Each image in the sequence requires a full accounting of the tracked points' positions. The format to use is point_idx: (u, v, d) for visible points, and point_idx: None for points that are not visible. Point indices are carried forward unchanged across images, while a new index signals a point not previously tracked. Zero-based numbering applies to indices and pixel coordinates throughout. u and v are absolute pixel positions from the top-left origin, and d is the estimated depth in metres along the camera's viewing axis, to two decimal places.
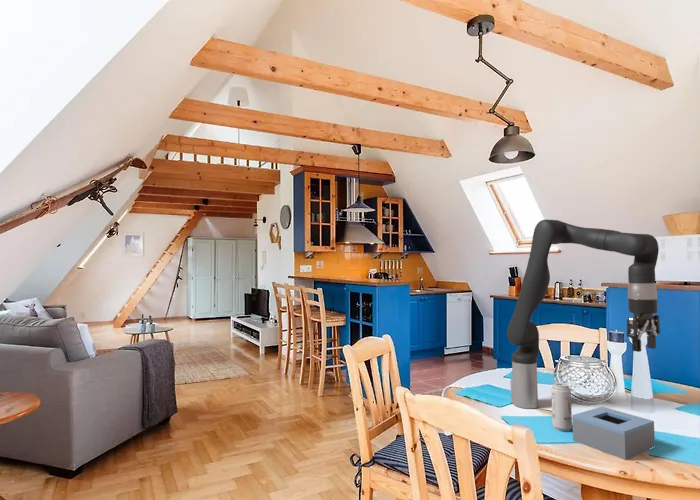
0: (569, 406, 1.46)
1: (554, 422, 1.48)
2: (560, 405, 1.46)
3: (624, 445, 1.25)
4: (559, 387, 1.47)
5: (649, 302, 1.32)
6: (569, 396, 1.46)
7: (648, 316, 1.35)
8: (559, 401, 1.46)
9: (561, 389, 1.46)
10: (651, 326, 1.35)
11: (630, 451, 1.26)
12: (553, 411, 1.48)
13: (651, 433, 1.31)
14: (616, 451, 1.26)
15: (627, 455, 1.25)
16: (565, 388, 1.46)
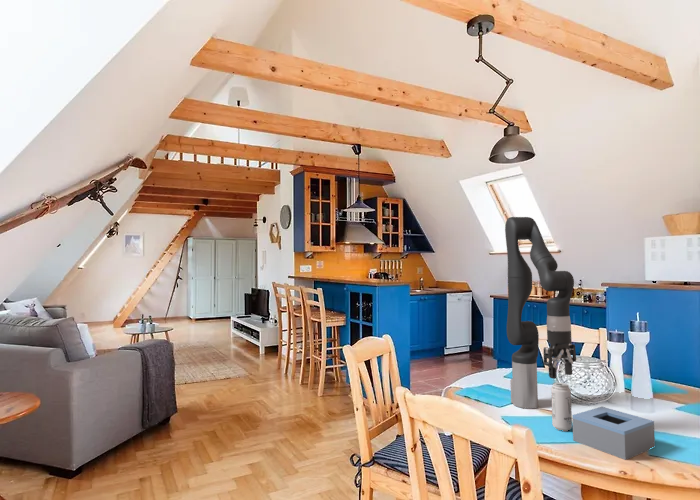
0: (569, 406, 1.46)
1: (554, 422, 1.48)
2: (560, 405, 1.46)
3: (624, 445, 1.25)
4: (559, 387, 1.47)
5: (563, 334, 1.46)
6: (569, 396, 1.46)
7: (563, 346, 1.49)
8: (559, 401, 1.46)
9: (561, 389, 1.46)
10: (566, 355, 1.49)
11: (630, 451, 1.26)
12: (553, 411, 1.48)
13: (651, 433, 1.31)
14: (616, 451, 1.26)
15: (627, 455, 1.25)
16: (565, 388, 1.46)
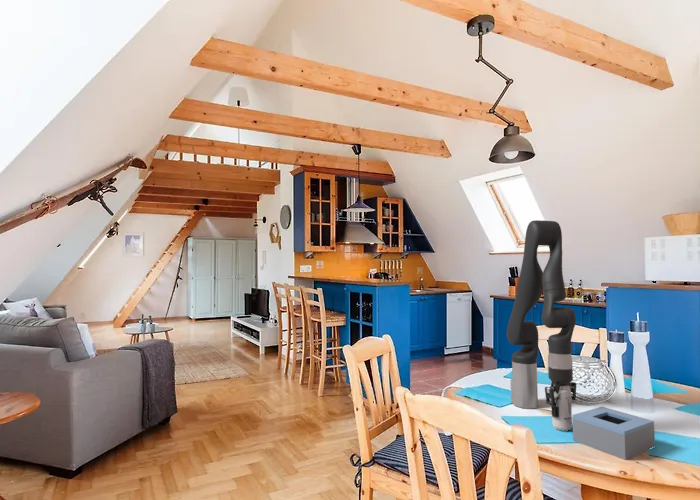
0: (569, 406, 1.46)
1: (554, 422, 1.48)
2: (560, 405, 1.46)
3: (624, 445, 1.25)
4: None
5: (564, 372, 1.45)
6: (569, 396, 1.46)
7: (565, 383, 1.48)
8: (559, 401, 1.46)
9: (561, 389, 1.46)
10: None
11: (630, 451, 1.26)
12: None
13: (651, 433, 1.31)
14: (616, 451, 1.26)
15: (627, 455, 1.25)
16: (565, 388, 1.46)
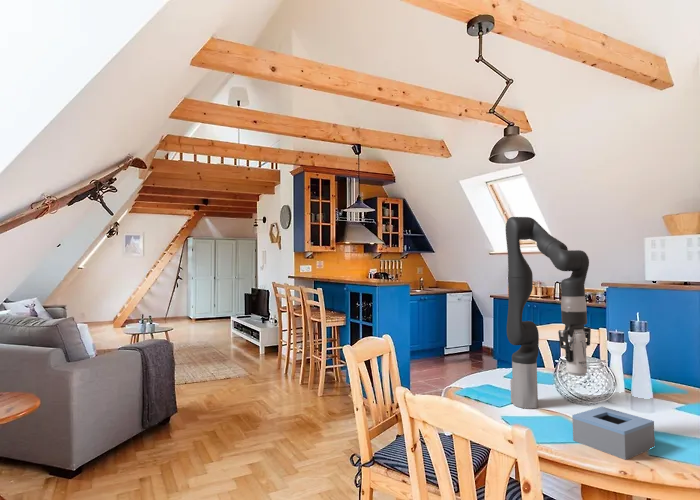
0: (584, 350, 1.42)
1: (568, 367, 1.44)
2: (574, 349, 1.42)
3: (624, 445, 1.25)
4: None
5: (578, 314, 1.41)
6: (584, 340, 1.42)
7: (579, 327, 1.44)
8: None
9: (575, 332, 1.42)
10: None
11: (630, 451, 1.26)
12: None
13: (651, 433, 1.31)
14: (616, 451, 1.26)
15: (627, 455, 1.25)
16: (580, 332, 1.42)
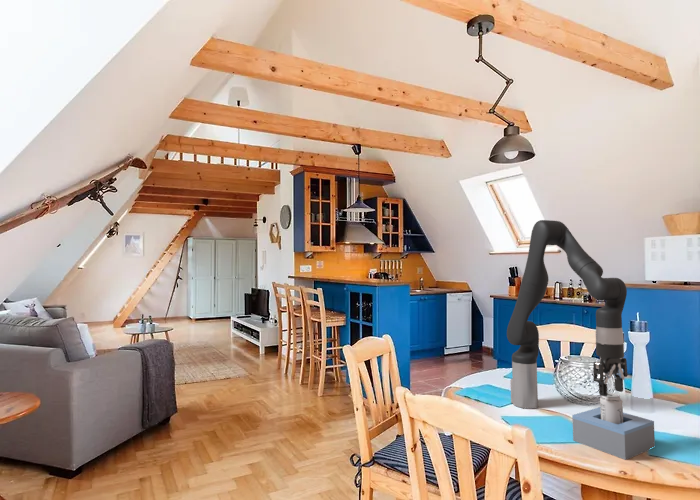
0: (621, 419, 1.33)
1: None
2: (611, 418, 1.33)
3: (624, 445, 1.25)
4: (610, 398, 1.34)
5: (615, 347, 1.32)
6: (621, 408, 1.33)
7: (615, 360, 1.35)
8: (610, 413, 1.33)
9: (612, 400, 1.34)
10: (618, 370, 1.36)
11: (630, 451, 1.26)
12: None
13: (651, 433, 1.31)
14: (616, 451, 1.26)
15: (627, 455, 1.25)
16: (617, 399, 1.33)
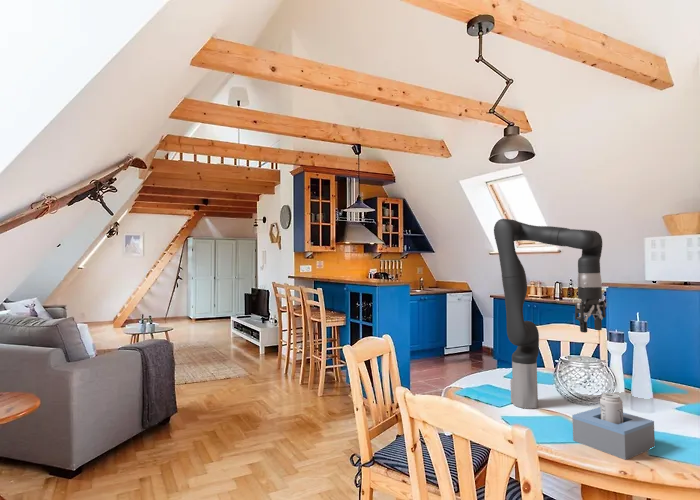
0: (621, 419, 1.33)
1: None
2: (611, 418, 1.33)
3: (624, 445, 1.25)
4: (610, 398, 1.34)
5: (594, 289, 1.52)
6: (621, 408, 1.33)
7: (594, 302, 1.55)
8: (610, 414, 1.33)
9: (612, 400, 1.33)
10: (597, 310, 1.55)
11: (630, 451, 1.26)
12: None
13: (651, 433, 1.31)
14: (616, 451, 1.26)
15: (627, 455, 1.25)
16: (617, 400, 1.33)
